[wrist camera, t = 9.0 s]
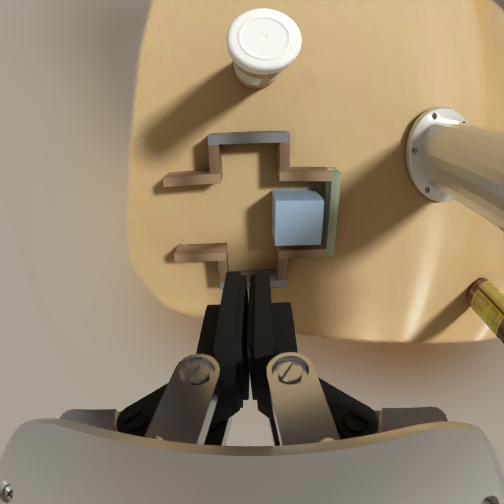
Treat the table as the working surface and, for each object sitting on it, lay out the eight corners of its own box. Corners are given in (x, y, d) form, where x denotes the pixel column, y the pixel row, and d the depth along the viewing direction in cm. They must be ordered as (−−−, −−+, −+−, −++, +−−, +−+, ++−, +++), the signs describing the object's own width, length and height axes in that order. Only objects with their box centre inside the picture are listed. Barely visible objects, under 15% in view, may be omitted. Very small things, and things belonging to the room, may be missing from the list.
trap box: (335, 133, 28) (342, 135, 26) (324, 273, 37) (329, 284, 34) (165, 138, 28) (158, 140, 26) (184, 279, 36) (180, 290, 34)
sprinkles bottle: (285, 79, 25) (315, 56, 13) (245, 95, 26) (245, 82, 14) (266, 43, 23) (282, -2, 11) (226, 60, 24) (212, 22, 12)
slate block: (315, 189, 31) (324, 200, 28) (312, 229, 34) (320, 244, 30) (272, 189, 31) (275, 200, 28) (271, 230, 34) (275, 245, 30)
